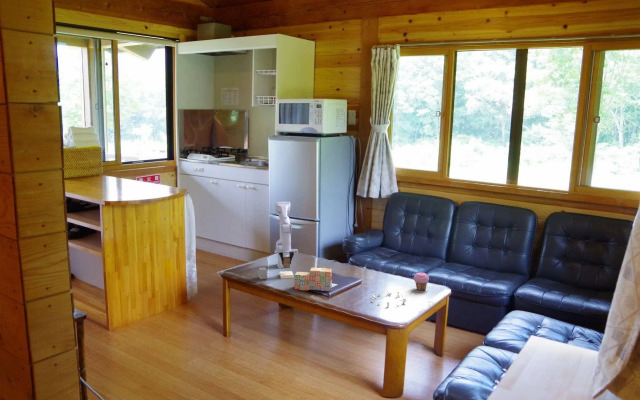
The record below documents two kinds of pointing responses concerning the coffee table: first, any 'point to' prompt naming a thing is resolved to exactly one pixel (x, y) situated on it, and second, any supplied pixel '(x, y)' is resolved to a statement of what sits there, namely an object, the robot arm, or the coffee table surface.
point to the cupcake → (421, 281)
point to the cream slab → (286, 274)
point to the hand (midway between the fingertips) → (286, 264)
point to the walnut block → (286, 262)
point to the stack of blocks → (314, 279)
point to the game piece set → (388, 295)
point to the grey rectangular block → (262, 273)
